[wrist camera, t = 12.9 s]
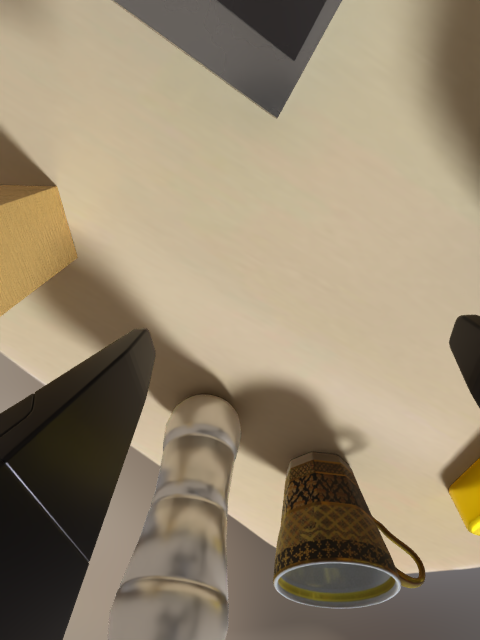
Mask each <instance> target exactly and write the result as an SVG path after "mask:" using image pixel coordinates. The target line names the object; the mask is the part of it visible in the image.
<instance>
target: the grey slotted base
mask: <svg viewBox="0 0 480 640" xmlns="http://www.w3.org/2000/svg"><path fill="white" fill-rule="evenodd" d="M112 1H113V2H115V3H116V4H117V5H119V6H120V7H122V8H123V9H124V10H126V11H127V12H129V13H130V14H131V15H133V16H134V17H135V18H137V19H138V20H140V21H141V22H142V23H144V24H145V25H147V26H148V27H149V28H151V29H152V30H154V31H155V32H156V33H158V34H159V35H160V36H162V37H163V38H165V39H166V40H167V41H169V42H170V43H172V44H173V45H174V46H176V47H177V48H179V49H180V50H181V51H183V52H184V53H185V54H187V55H188V56H190V57H191V58H192V59H194V60H195V61H197V62H198V63H199V64H201V65H202V66H203V67H205V68H206V69H208V70H209V71H210V72H212V73H213V74H215V75H216V76H217V77H219V78H220V79H222V80H223V81H224V82H226V83H227V84H228V85H230V86H231V87H233V88H234V89H235V90H237V91H238V92H240V93H241V94H242V95H244V96H245V97H247V98H248V99H249V100H251V101H252V102H253V103H255V104H256V105H258V106H259V107H260V108H262V109H263V110H265V111H266V112H267V113H269V114H270V115H272V116H273V117H274V118H278V116H279V114H280V112H281V111H282V109H283V107H284V105H285V103H286V101H287V100H288V98H289V96H290V94H291V92H292V91H293V89H294V87H295V85H296V83H297V81H298V80H299V78H300V76H301V74H302V72H303V71H304V69H305V67H306V65H307V63H308V61H309V60H310V58H311V56H312V54H313V52H314V50H315V49H316V47H317V45H318V43H319V41H320V40H321V38H322V36H323V34H324V32H325V30H326V29H327V27H328V25H329V23H330V21H331V19H332V18H333V16H334V14H335V12H336V10H337V9H338V7H339V5H340V3H341V1H342V0H112Z"/></svg>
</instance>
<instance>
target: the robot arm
mask: <svg viewBox="0 0 480 640" xmlns="http://www.w3.org/2000/svg"><path fill="white" fill-rule="evenodd" d="M449 344H450V348H451V351H452V353H453V355H454V357H455V359H456V362H457V364H458V366H459V368H460V371H461V373H462V375H463V377H464V380H465V382H466V384H467V386H468V388H469V390H470V392H471V394H472V396H473V398H474V400H475V401H476V403H477V405H478V406H479V408H480V316H478V315H461V316H459V317H458V318H457V319H456V322H455V325H454V328H453V330H452V333H451V336H450V340H449ZM154 360H155V348H154V345H153V341H152V338H151V335H150V332H149V330H147V329H134V330H132V331H131V332H129V333H128V334H126V335H124V336H123V337H121V338H120V339H118V340H117V341H115V342H113V343H112V344H110V345H109V346H107V347H105V348H104V349H102V350H101V351H99V352H98V353H96V354H94V355H93V356H91V357H90V358H88V359H86V360H85V361H83V362H82V363H80V364H79V365H77V366H75V367H74V368H72V369H71V370H69V371H68V372H66V373H64V374H63V375H61V376H60V377H58V378H56V379H55V380H53V381H52V382H50V383H49V384H47V385H45V386H44V387H42V388H41V389H39V390H38V391H36V392H35V394H31V395H29V396H28V397H26V398H25V399H24V400H22V401H20V402H19V403H17V404H15V405H14V406H12V407H10V408H9V409H7V410H5V411H4V412H2V413H0V640H63V637H64V634H65V631H66V628H67V626H68V623H69V620H70V617H71V614H72V611H73V608H74V605H75V602H76V599H77V597H78V594H79V591H80V588H81V585H82V582H83V579H84V577H85V574H86V571H87V568H88V565H89V563H88V562H89V561H90V558H91V556H92V553H93V550H94V547H95V544H96V541H97V538H98V536H99V533H100V530H101V527H102V524H103V521H104V518H105V516H106V513H107V510H108V507H109V504H110V501H111V498H112V495H113V493H114V489H115V487H116V484H117V481H118V478H119V475H120V472H121V470H122V467H123V463H124V460H125V458H126V455H127V452H128V449H129V447H130V444H131V441H132V438H133V435H134V432H135V429H136V426H137V423H138V421H139V418H140V415H141V412H142V409H143V406H144V403H145V400H146V396H147V392H148V388H149V383H150V379H151V374H152V369H153V365H154Z"/></svg>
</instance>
